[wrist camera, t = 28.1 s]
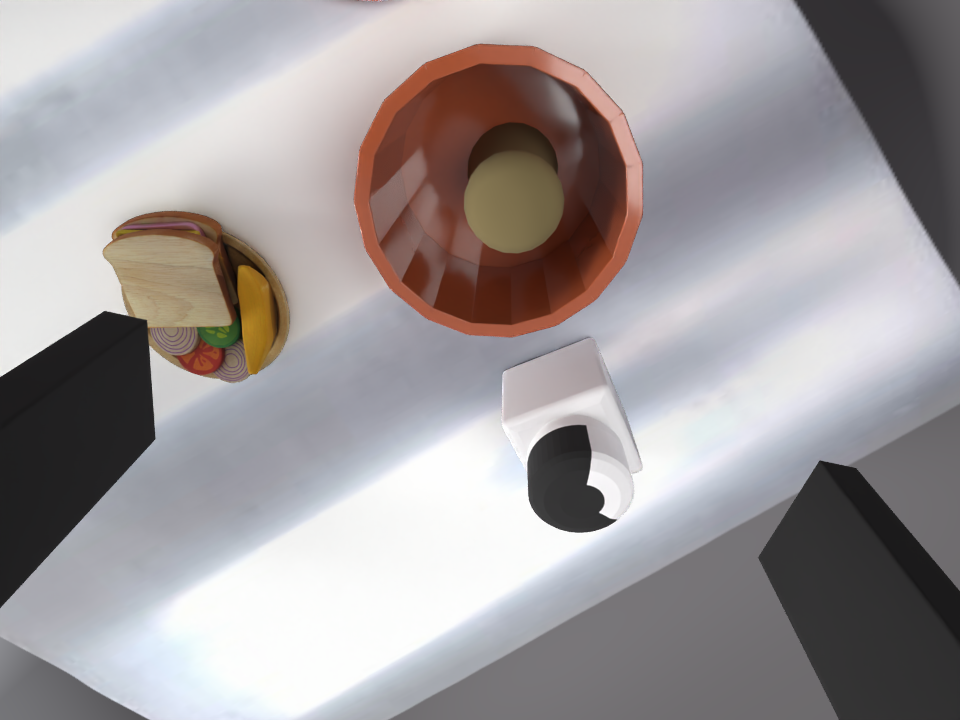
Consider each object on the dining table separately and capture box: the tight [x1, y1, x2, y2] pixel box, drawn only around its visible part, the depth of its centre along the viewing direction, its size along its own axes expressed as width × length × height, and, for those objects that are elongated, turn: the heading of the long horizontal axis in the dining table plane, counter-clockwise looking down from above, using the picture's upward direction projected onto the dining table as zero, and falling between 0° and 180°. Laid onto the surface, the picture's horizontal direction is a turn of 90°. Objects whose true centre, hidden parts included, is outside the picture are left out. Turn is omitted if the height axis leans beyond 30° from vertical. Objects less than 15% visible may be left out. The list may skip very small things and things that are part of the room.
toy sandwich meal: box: [103, 211, 290, 383], centre depth 41 cm, size 12×14×5 cm
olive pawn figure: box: [464, 122, 564, 253], centre depth 33 cm, size 6×6×11 cm
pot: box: [354, 44, 643, 337], centre depth 34 cm, size 15×15×10 cm
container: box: [502, 338, 642, 533], centre depth 40 cm, size 8×8×13 cm
